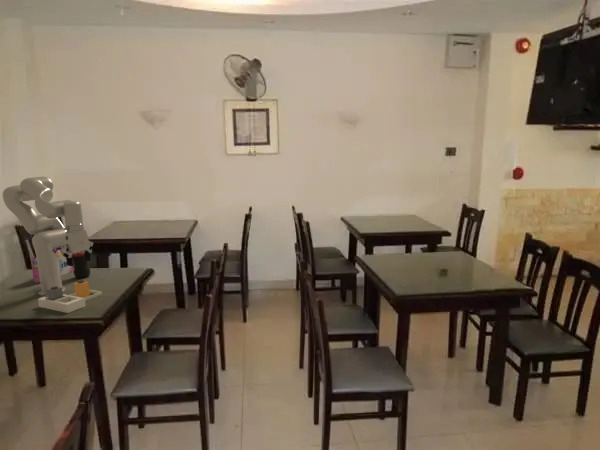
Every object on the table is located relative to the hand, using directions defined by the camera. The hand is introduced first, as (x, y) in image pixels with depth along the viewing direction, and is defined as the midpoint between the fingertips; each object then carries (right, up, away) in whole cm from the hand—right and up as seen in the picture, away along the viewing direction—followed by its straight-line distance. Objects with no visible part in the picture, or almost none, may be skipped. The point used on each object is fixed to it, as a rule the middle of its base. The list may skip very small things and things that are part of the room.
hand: (79, 263), depth 218 cm
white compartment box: (-5, -20, -8) cm, 22 cm away
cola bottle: (-18, -12, +42) cm, 47 cm away
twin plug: (-7, -19, -7) cm, 21 cm away
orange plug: (0, -17, +3) cm, 18 cm away
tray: (0, -18, +3) cm, 18 cm away
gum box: (-36, -12, +45) cm, 58 cm away
